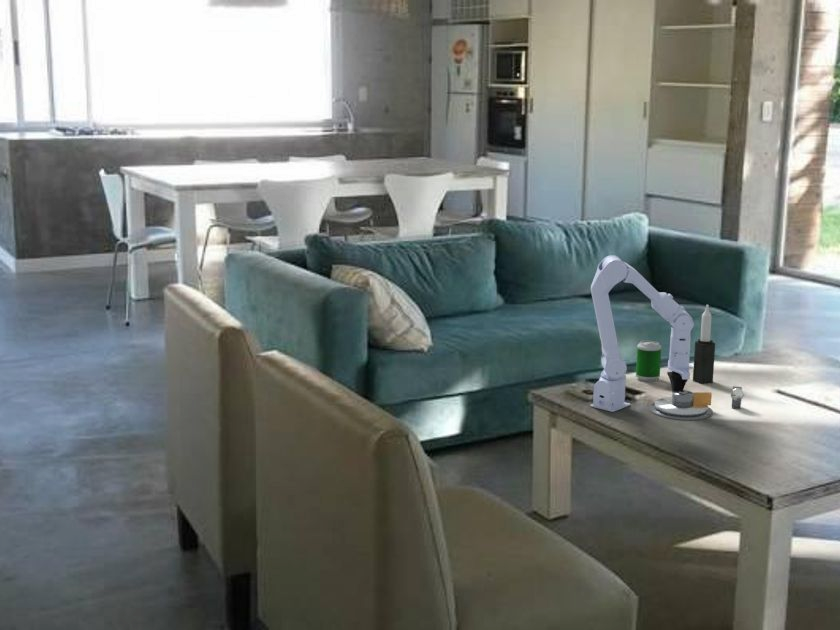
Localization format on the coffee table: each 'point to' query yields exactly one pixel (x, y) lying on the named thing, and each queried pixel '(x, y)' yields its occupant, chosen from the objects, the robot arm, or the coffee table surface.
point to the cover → (682, 399)
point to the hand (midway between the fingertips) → (677, 396)
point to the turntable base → (654, 411)
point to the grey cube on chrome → (737, 397)
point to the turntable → (698, 408)
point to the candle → (704, 352)
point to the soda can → (648, 361)
